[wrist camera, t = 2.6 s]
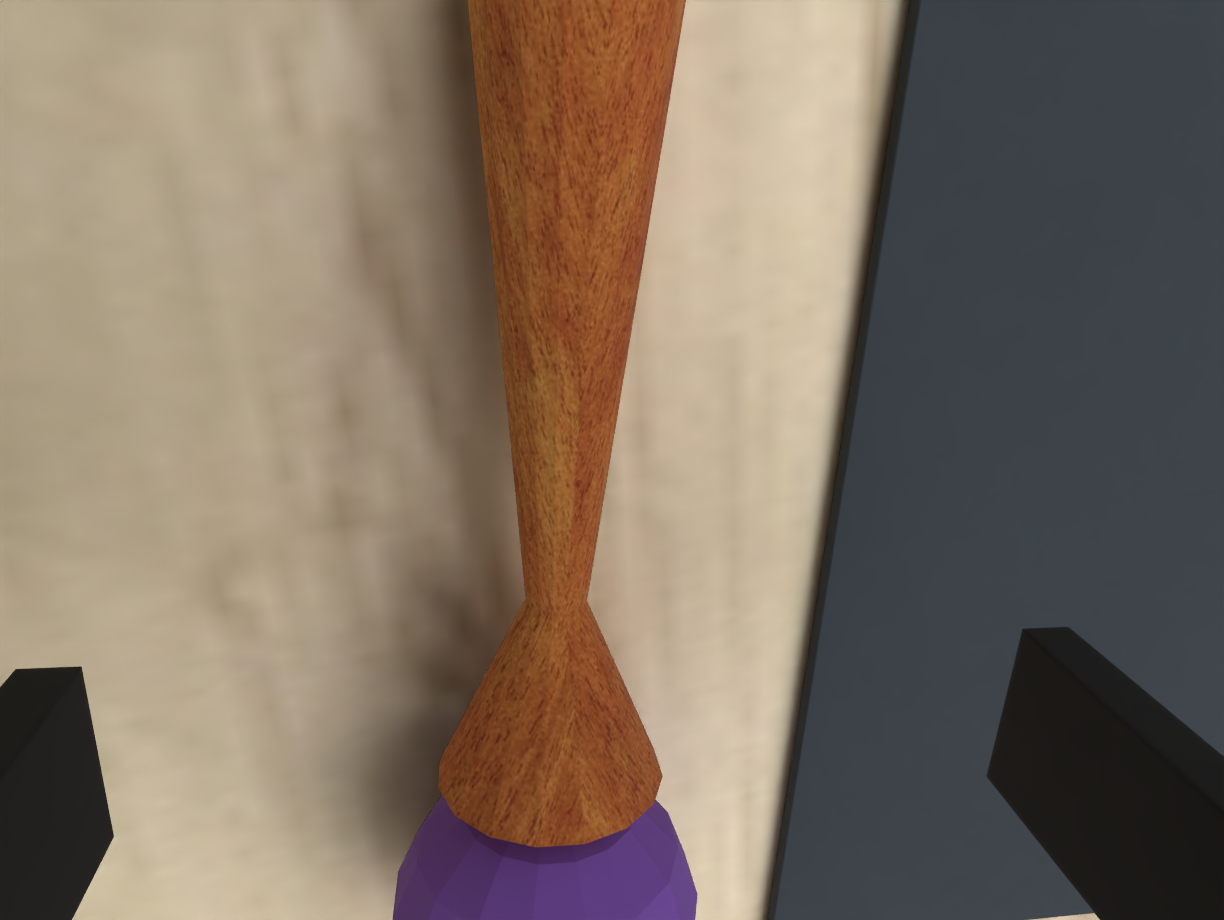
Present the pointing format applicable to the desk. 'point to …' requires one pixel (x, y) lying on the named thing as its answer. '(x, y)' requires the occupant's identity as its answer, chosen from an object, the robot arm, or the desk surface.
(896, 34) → the desk surface
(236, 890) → the desk surface
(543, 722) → the kendama
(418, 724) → the desk surface
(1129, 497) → the mat
